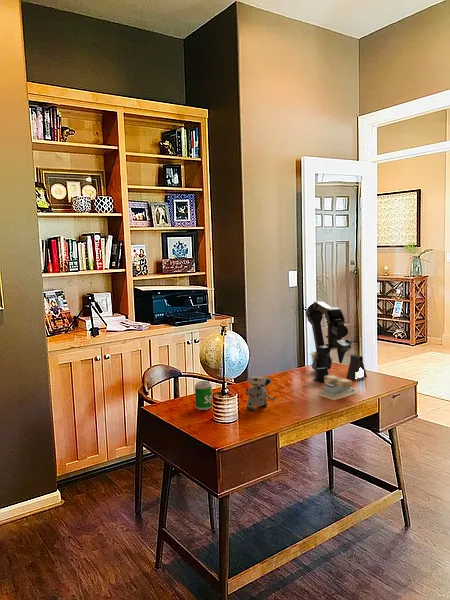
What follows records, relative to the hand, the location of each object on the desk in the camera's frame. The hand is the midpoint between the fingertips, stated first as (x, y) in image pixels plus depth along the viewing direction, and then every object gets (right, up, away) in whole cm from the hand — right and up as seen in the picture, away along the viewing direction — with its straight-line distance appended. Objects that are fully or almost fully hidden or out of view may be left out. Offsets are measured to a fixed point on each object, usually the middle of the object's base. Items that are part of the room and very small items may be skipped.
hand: (333, 364), depth 243 cm
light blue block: (0, -12, -7) cm, 14 cm away
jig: (0, -13, -7) cm, 15 cm away
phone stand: (+17, -10, +20) cm, 28 cm away
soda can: (-63, -18, -19) cm, 68 cm away
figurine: (-38, -17, -23) cm, 48 cm away
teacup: (+2, -8, +34) cm, 35 cm away
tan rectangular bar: (0, -8, -8) cm, 12 cm away
